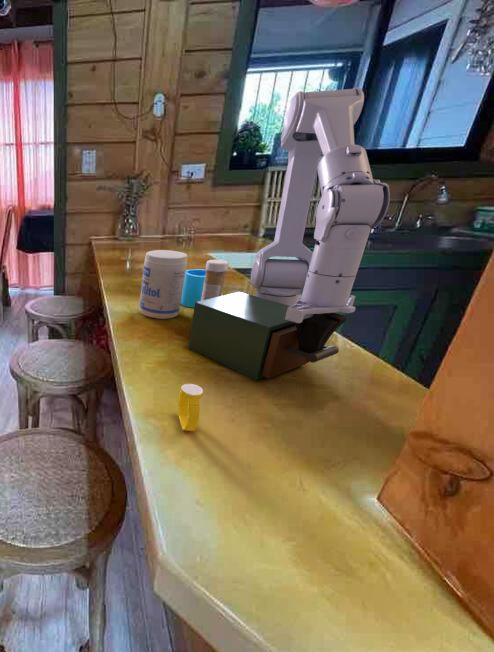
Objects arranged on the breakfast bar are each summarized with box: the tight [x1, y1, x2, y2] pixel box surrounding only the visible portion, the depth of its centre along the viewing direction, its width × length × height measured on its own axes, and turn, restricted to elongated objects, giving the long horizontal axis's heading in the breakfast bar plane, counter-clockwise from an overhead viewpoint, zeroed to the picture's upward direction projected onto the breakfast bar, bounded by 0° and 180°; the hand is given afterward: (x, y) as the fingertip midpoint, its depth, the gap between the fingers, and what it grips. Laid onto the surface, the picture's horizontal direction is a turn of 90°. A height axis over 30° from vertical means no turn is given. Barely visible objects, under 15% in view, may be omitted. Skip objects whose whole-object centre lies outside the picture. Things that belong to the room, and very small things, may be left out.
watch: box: [177, 383, 204, 432], centre depth 51 cm, size 6×3×6 cm, turn 171°
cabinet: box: [187, 291, 295, 381], centre depth 69 cm, size 15×13×10 cm
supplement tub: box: [138, 249, 188, 320], centre depth 90 cm, size 10×10×15 cm
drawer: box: [262, 324, 340, 379], centre depth 66 cm, size 18×11×8 cm, turn 28°
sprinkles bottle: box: [201, 259, 230, 301], centre depth 87 cm, size 5×5×14 cm
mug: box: [180, 268, 206, 309], centre depth 99 cm, size 12×8×8 cm
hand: (307, 356), depth 60 cm, fingers closed, pressing on drawer
